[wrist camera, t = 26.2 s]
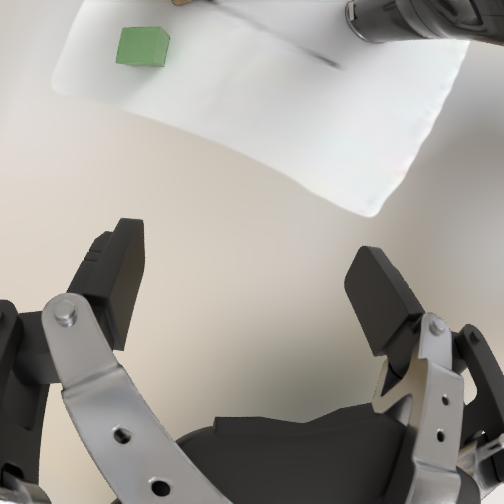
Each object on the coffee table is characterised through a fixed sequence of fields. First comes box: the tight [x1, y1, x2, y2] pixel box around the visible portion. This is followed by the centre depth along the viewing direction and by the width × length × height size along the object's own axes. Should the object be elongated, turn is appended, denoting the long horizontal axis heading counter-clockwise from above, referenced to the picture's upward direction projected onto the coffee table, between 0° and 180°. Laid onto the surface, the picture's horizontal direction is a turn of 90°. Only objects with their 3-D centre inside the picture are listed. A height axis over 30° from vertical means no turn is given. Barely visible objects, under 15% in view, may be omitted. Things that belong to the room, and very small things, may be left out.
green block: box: [116, 27, 170, 67], centre depth 27 cm, size 5×5×8 cm
